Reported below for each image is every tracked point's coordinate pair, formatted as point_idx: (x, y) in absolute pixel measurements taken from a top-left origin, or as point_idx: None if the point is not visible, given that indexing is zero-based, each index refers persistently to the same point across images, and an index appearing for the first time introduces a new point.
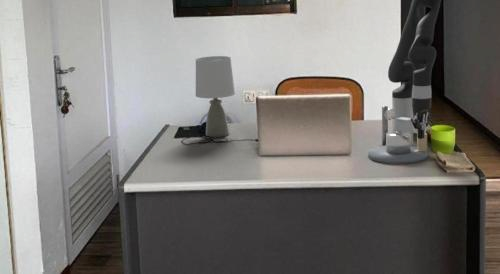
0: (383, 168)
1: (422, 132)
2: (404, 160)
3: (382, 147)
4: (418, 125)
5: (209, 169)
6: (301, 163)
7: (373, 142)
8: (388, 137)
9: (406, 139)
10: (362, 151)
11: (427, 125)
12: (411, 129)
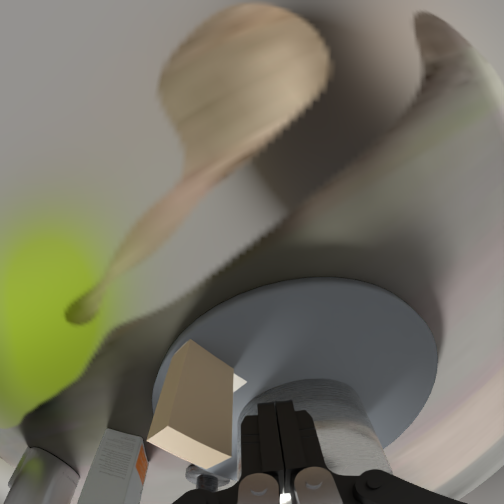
0: (477, 329)
1: (303, 446)
2: (423, 321)
3: None
4: (435, 494)
5: (481, 470)
6: (448, 461)
7: None
8: None
9: (353, 445)
10: None
11: (197, 500)
12: (96, 483)
